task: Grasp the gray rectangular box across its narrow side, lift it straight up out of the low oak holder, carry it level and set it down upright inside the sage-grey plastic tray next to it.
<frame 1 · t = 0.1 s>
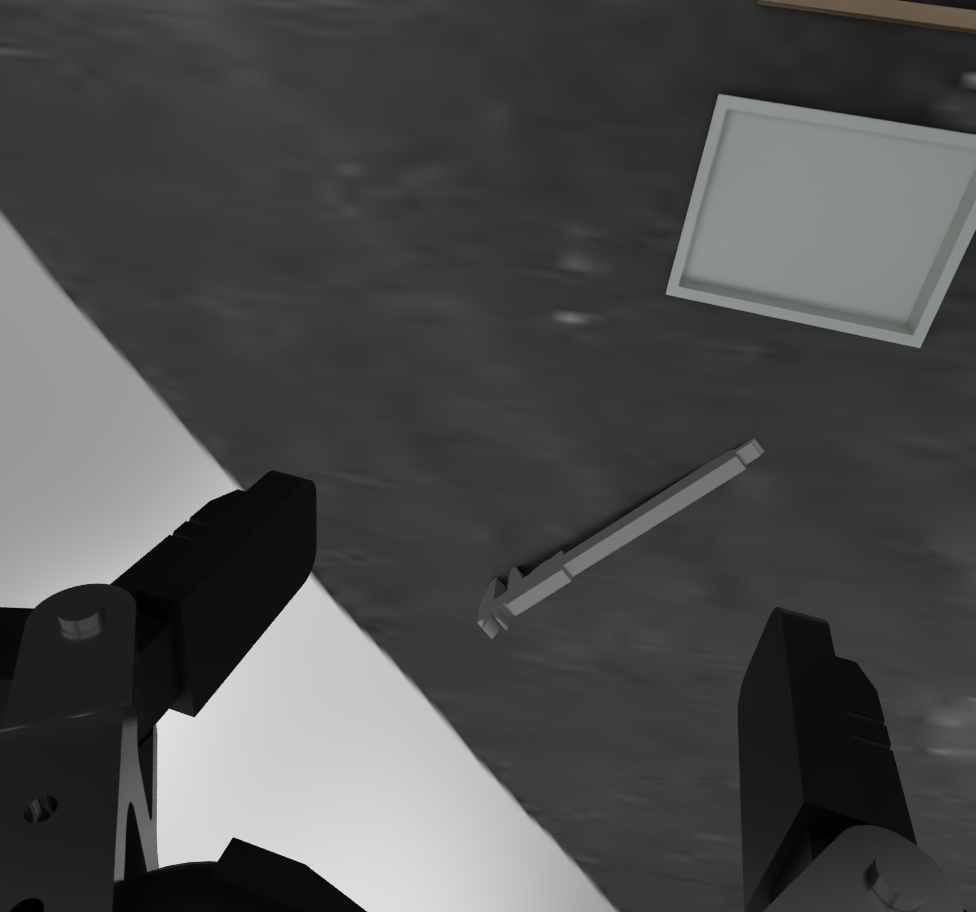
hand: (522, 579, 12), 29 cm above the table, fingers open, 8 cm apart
caliper: (614, 518, 46), on the table
tray: (816, 216, 34), on the table
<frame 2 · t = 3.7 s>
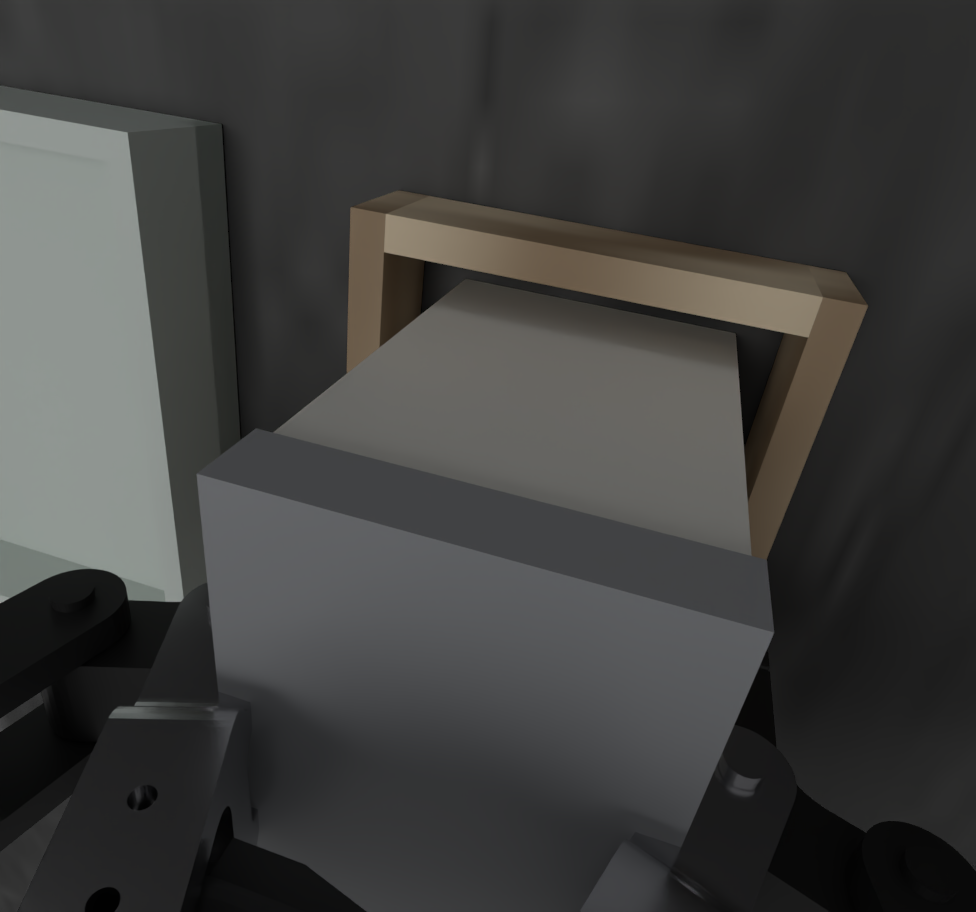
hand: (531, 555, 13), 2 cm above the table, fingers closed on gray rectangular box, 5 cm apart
holder: (556, 490, 15), on the table
gray rectangular box: (512, 609, 12), in the holder, touching gripper
tray: (72, 367, 17), on the table
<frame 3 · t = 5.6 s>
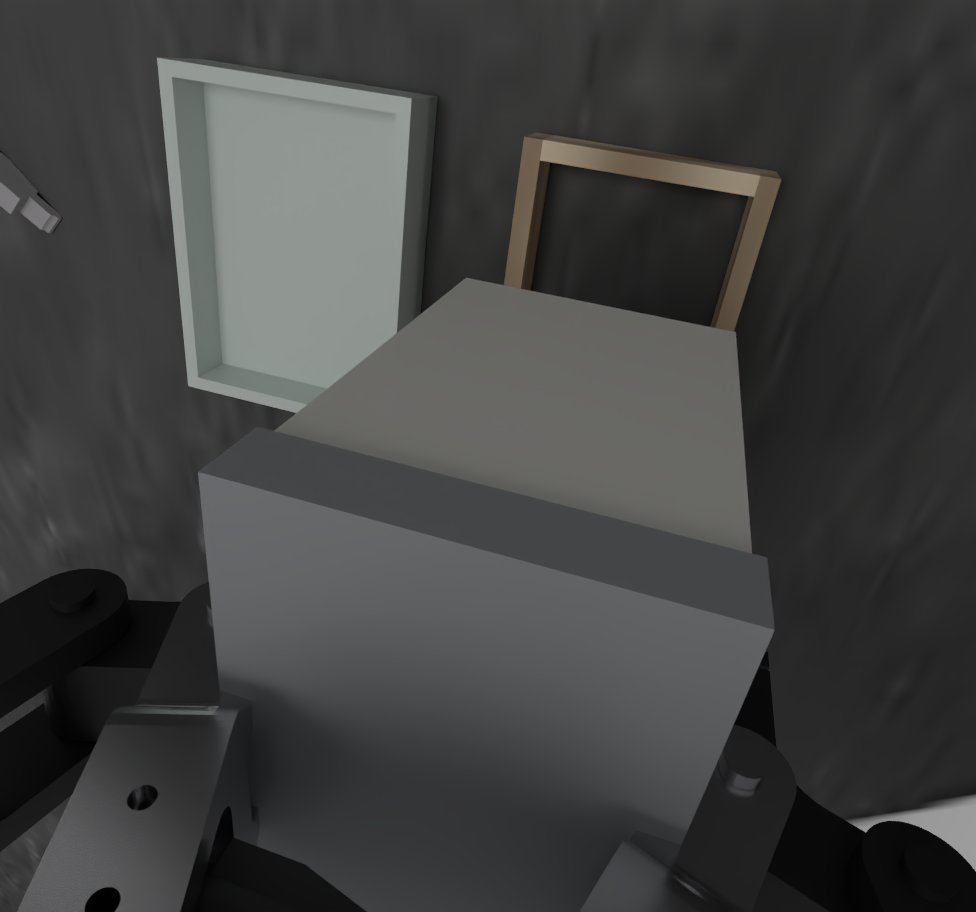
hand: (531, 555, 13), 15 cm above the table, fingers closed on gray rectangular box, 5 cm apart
holder: (617, 310, 26), on the table
gray rectangular box: (512, 608, 12), point 17 cm above the table, touching gripper
tray: (316, 248, 28), on the table
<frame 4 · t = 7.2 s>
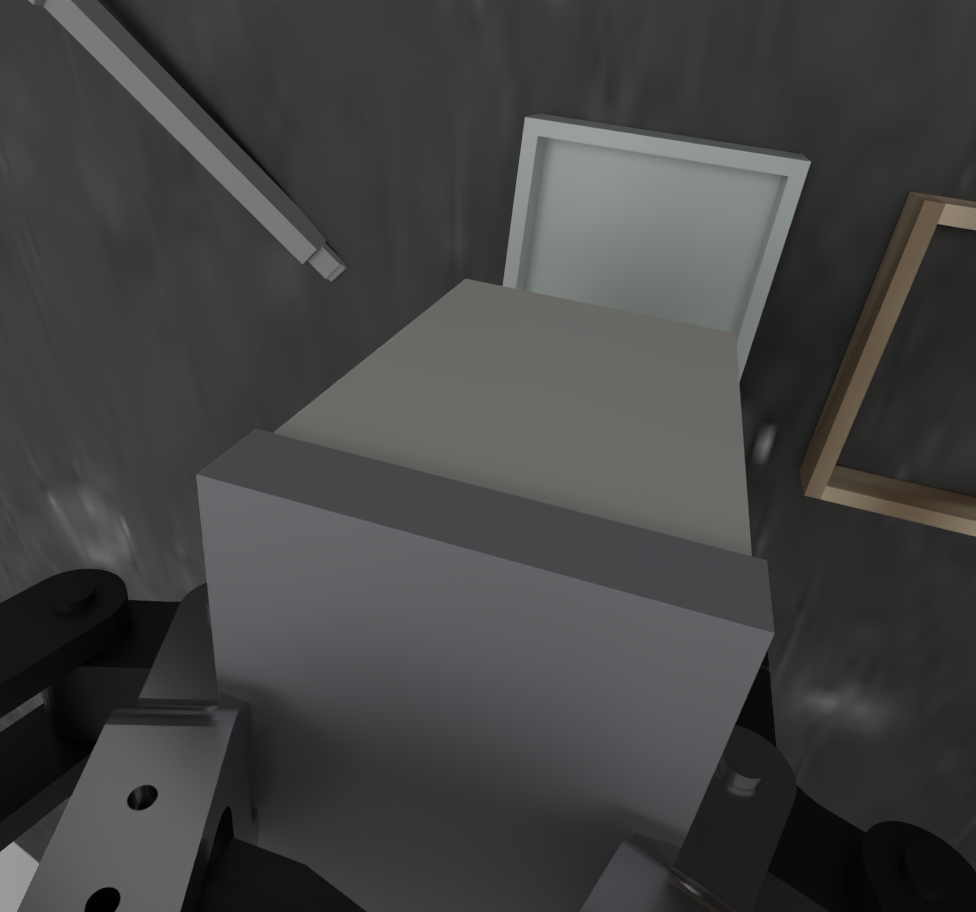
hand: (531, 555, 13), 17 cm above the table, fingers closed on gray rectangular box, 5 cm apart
caliper: (178, 68, 29), on the table
holder: (963, 368, 25), on the table
gray rectangular box: (512, 610, 12), point 19 cm above the table, touching gripper
tray: (629, 301, 27), on the table
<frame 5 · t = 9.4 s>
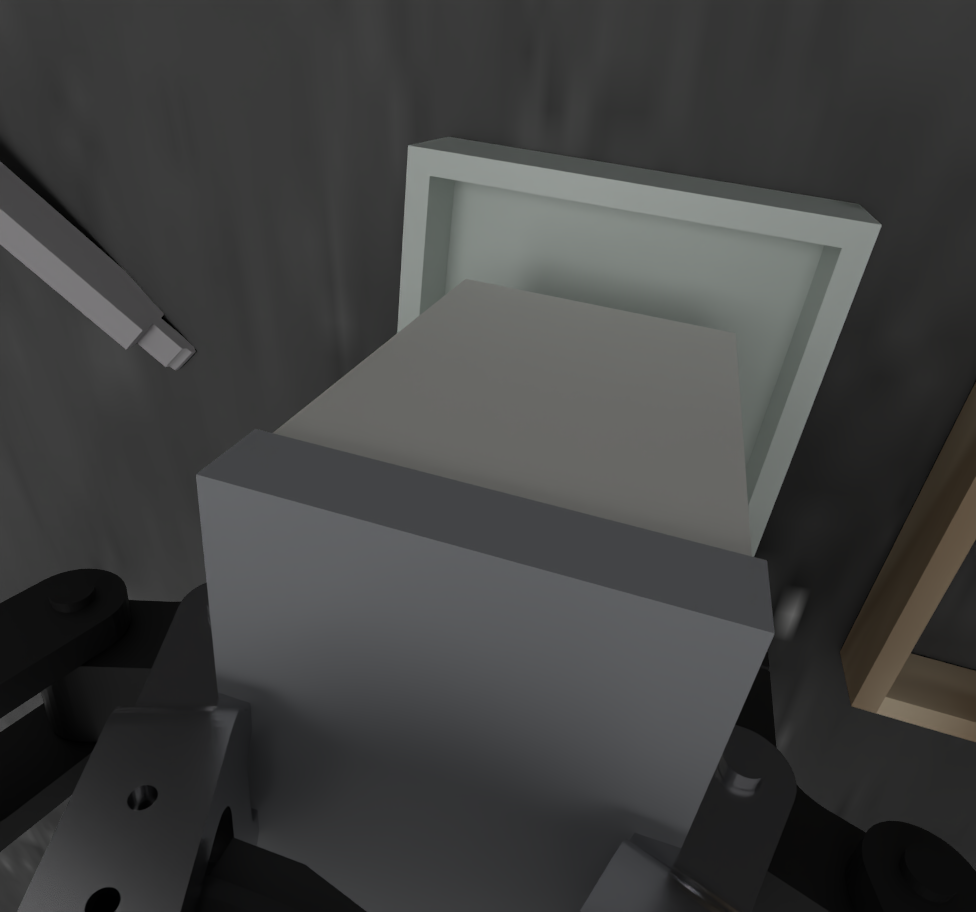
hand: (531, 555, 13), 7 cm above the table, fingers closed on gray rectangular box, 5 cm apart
gray rectangular box: (512, 610, 12), point 8 cm above the table, touching gripper
tray: (590, 412, 19), on the table
when the fingers open (4 cm above the table, at t = 11.0 s): gray rectangular box drops 1 cm, resting on tray.
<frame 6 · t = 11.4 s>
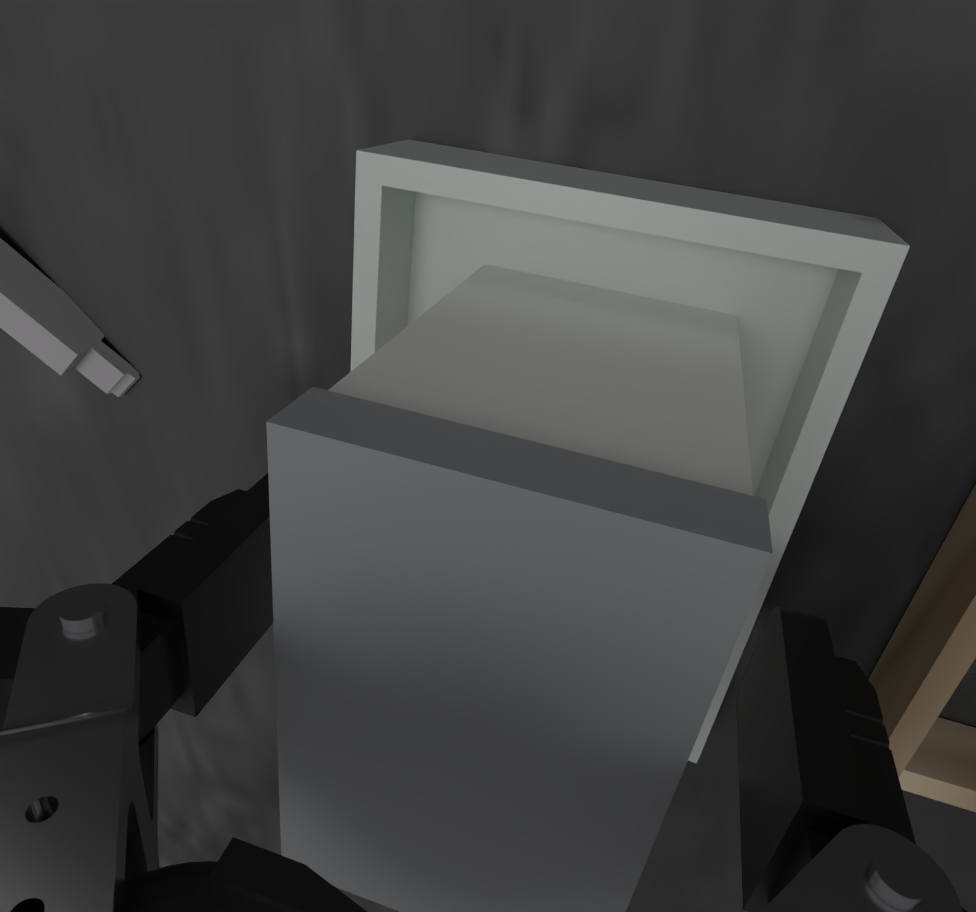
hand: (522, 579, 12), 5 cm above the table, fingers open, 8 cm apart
gray rectangular box: (529, 569, 12), in the tray, point 5 cm above the table
tray: (573, 448, 17), on the table
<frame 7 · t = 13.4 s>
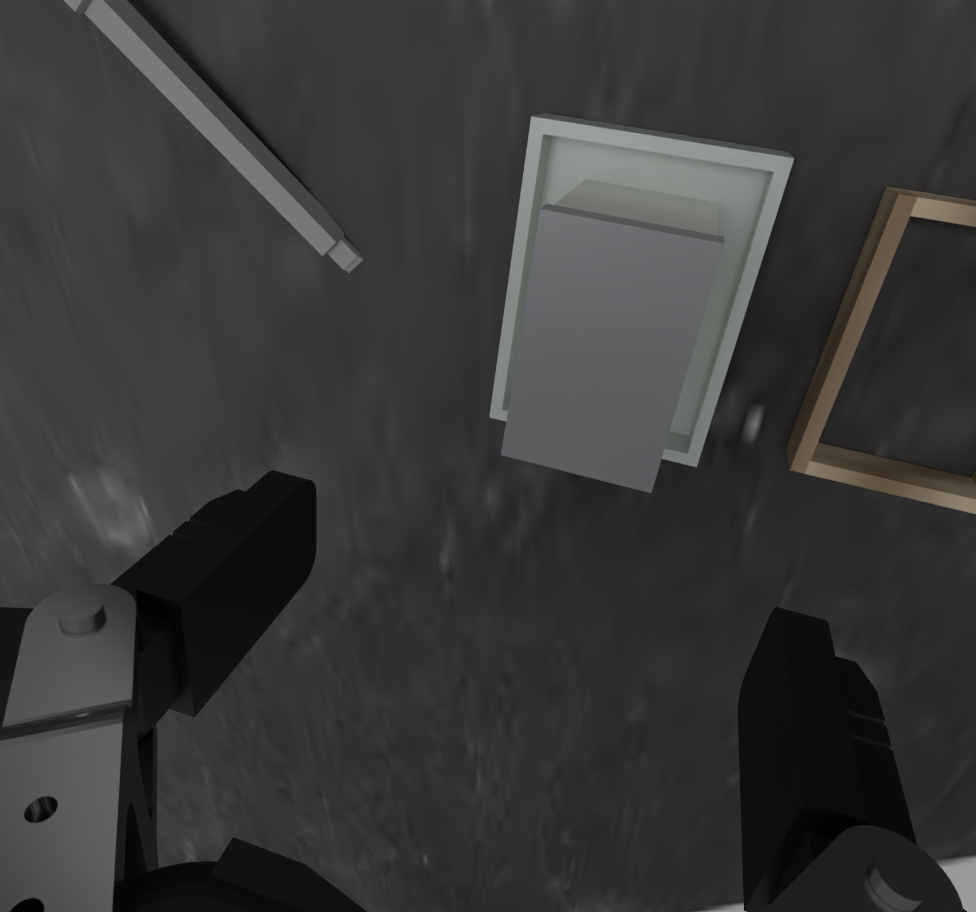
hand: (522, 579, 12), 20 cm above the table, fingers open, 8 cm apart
caliper: (206, 71, 31), on the table
holder: (936, 351, 27), on the table
gray rectangular box: (615, 323, 25), in the tray, point 5 cm above the table
tray: (627, 289, 29), on the table
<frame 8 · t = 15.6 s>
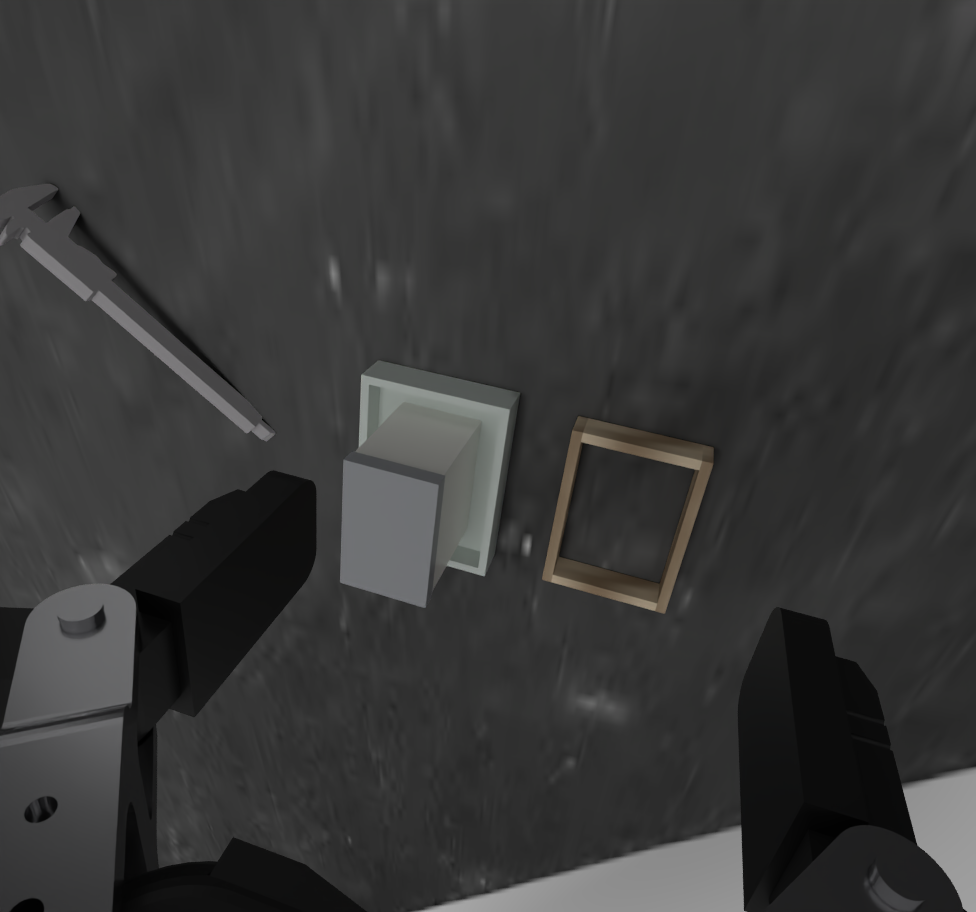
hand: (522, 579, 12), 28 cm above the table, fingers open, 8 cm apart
caliper: (170, 315, 47), on the table
holder: (624, 508, 43), on the table
gray rectangular box: (413, 499, 41), in the tray, point 5 cm above the table
tray: (439, 461, 46), on the table
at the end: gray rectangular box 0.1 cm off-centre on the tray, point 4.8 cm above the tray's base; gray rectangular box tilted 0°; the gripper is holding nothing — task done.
